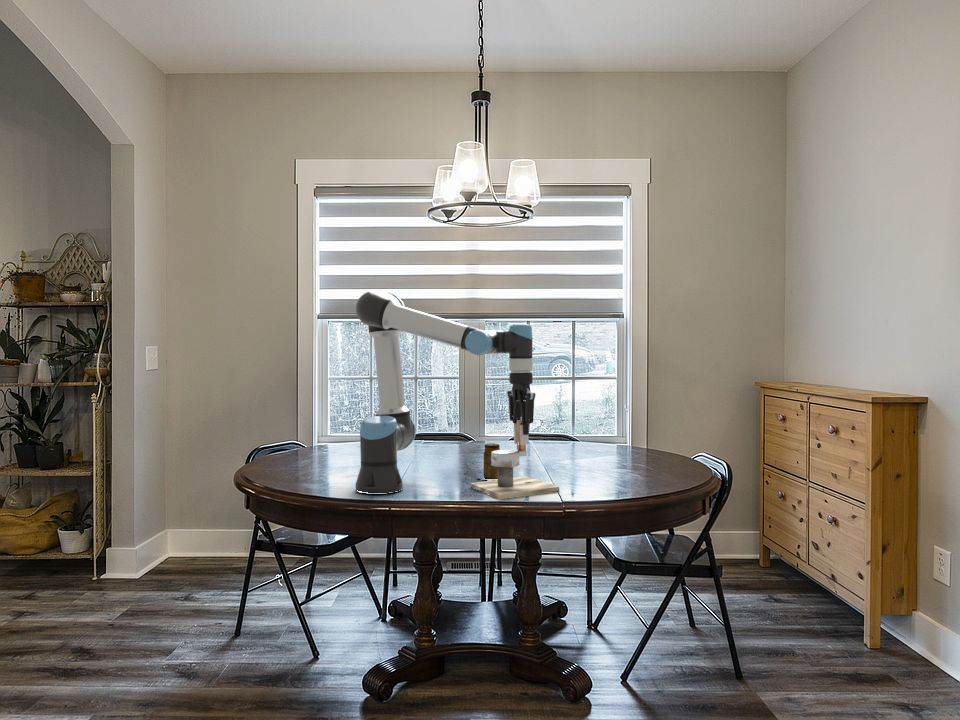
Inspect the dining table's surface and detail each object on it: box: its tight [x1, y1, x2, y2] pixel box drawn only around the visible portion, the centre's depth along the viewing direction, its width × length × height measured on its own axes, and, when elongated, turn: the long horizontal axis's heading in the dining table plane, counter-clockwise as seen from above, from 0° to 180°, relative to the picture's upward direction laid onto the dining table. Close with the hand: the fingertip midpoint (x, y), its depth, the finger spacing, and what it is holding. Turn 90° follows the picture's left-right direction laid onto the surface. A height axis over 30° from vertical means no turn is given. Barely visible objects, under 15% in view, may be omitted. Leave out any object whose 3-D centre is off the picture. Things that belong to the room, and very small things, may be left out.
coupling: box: [491, 420, 528, 468], centre depth 220 cm, size 12×10×14 cm
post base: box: [469, 467, 560, 501], centre depth 220 cm, size 19×22×8 cm
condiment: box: [482, 443, 501, 479], centre depth 237 cm, size 7×8×12 cm
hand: (521, 443), depth 222 cm, fingers open, 3 cm apart
